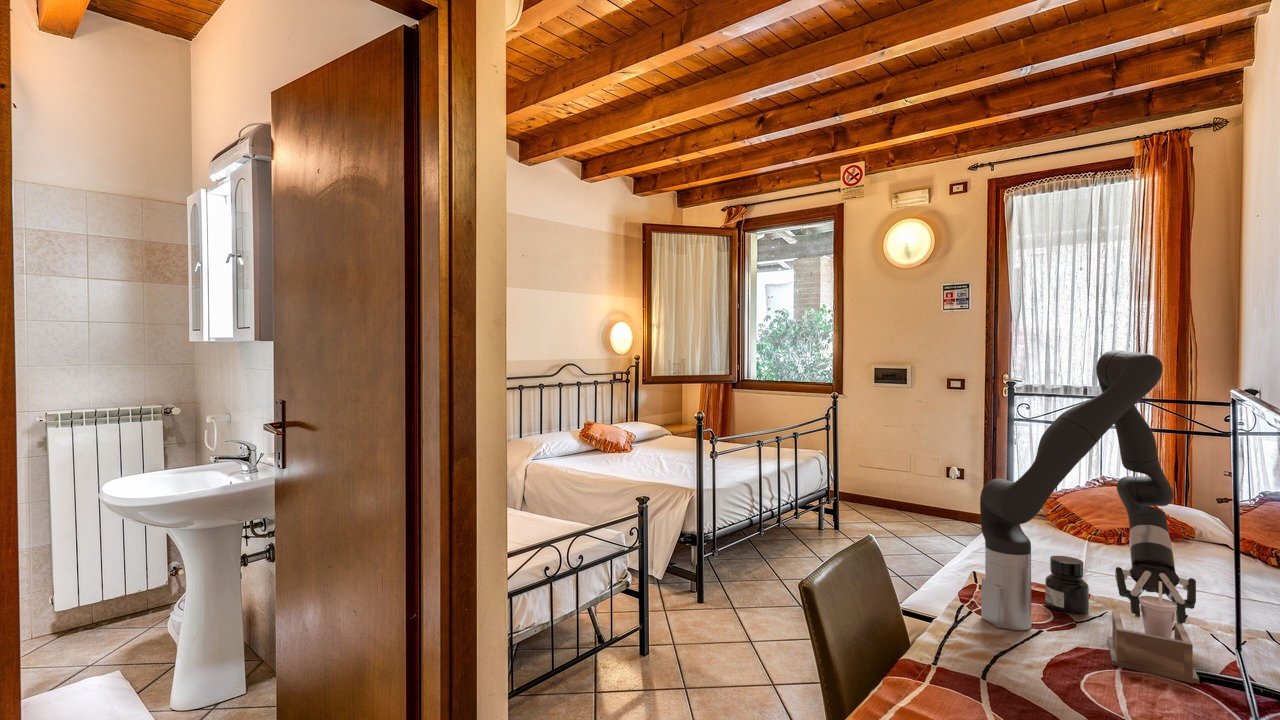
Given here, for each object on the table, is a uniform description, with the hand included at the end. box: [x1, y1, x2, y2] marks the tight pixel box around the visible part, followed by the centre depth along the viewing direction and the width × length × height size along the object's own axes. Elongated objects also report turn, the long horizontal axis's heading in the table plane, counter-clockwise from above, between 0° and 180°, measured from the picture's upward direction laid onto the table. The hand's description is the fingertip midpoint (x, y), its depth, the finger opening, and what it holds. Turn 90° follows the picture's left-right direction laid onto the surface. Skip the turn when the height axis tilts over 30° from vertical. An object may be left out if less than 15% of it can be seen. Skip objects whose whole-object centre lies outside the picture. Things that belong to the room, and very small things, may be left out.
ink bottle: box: [1044, 555, 1090, 615], centre depth 150 cm, size 10×9×12 cm
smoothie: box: [1139, 581, 1177, 639], centre depth 130 cm, size 6×6×14 cm
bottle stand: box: [1107, 610, 1200, 685], centre depth 123 cm, size 13×13×7 cm
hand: (1158, 619), depth 128 cm, fingers closed on smoothie, 6 cm apart
